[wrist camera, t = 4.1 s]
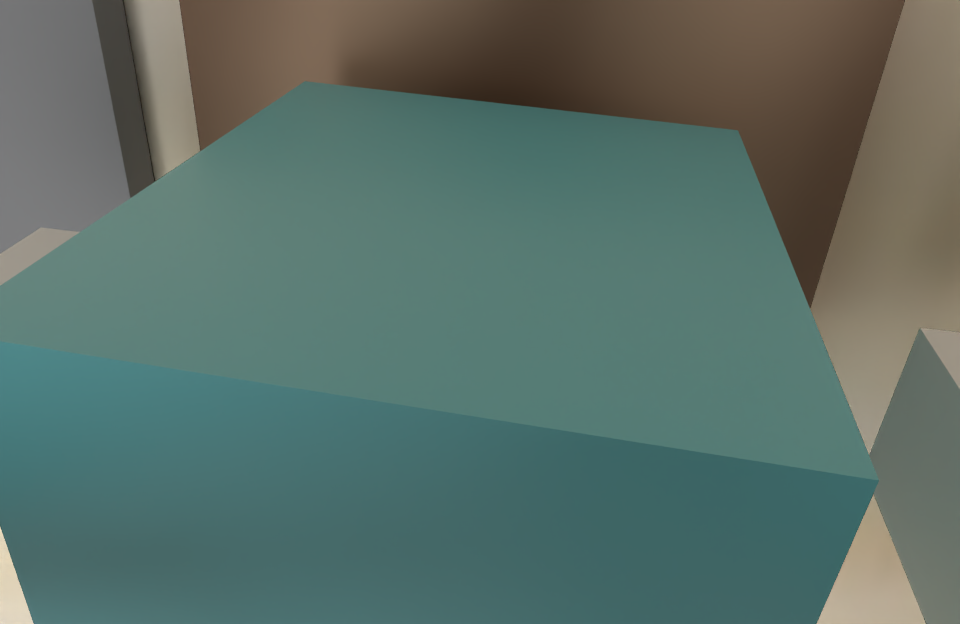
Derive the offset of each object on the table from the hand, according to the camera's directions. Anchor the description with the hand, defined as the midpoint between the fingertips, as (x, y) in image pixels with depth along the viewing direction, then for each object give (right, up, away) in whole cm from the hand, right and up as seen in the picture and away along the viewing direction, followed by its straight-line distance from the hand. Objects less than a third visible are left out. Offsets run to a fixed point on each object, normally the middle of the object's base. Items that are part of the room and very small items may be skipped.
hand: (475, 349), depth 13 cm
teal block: (0, +1, +2) cm, 2 cm away
